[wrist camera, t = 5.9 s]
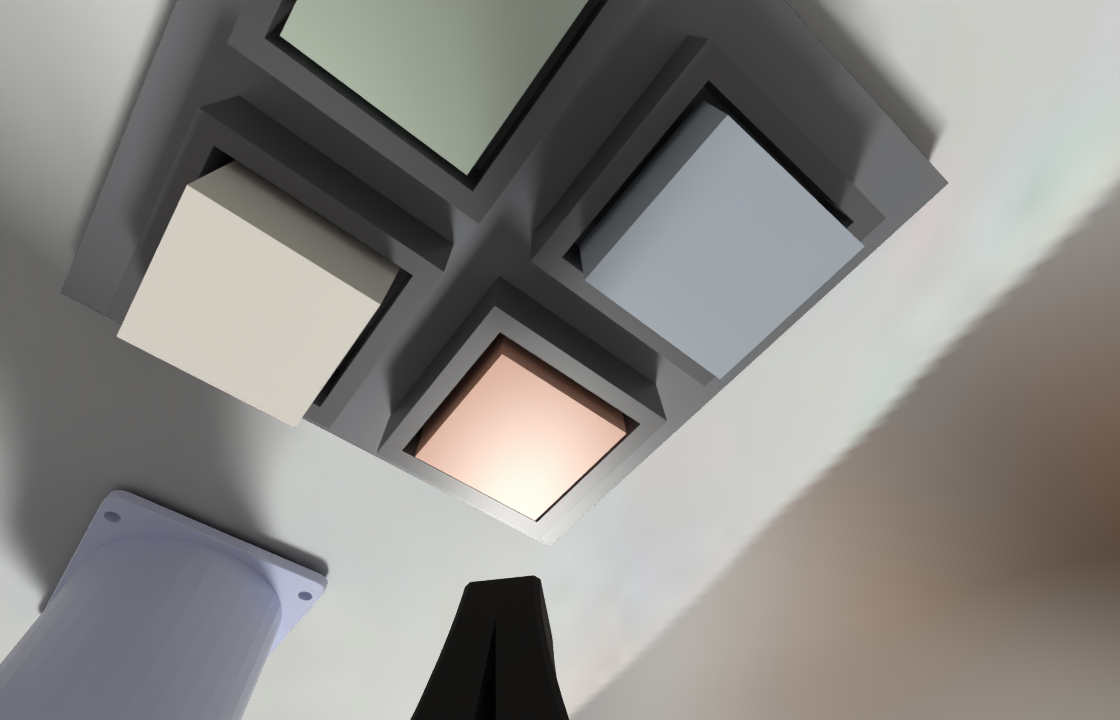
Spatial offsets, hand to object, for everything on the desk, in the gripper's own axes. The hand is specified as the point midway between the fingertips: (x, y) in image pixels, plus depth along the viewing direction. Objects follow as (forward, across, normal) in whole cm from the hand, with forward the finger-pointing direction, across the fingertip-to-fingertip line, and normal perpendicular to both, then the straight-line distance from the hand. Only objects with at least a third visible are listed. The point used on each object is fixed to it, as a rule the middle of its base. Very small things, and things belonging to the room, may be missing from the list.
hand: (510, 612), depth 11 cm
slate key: (+6, -5, -5) cm, 9 cm away
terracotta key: (+7, 0, 0) cm, 7 cm away
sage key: (+7, 0, -10) cm, 12 cm away
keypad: (+8, 0, -5) cm, 10 cm away
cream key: (+6, +5, -5) cm, 9 cm away
